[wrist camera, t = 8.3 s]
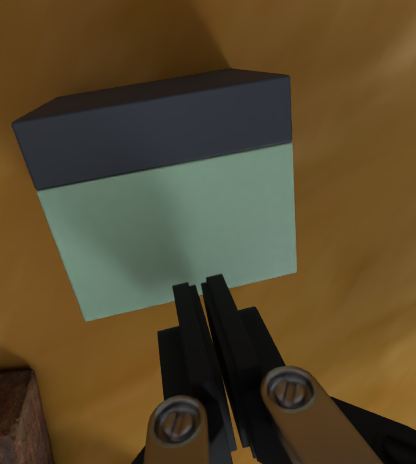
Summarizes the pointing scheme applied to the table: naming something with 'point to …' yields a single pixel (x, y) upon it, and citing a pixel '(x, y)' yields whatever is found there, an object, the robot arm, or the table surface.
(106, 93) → the lunchbox
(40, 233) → the table surface
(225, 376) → the robot arm
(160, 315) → the table surface
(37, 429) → the brick
